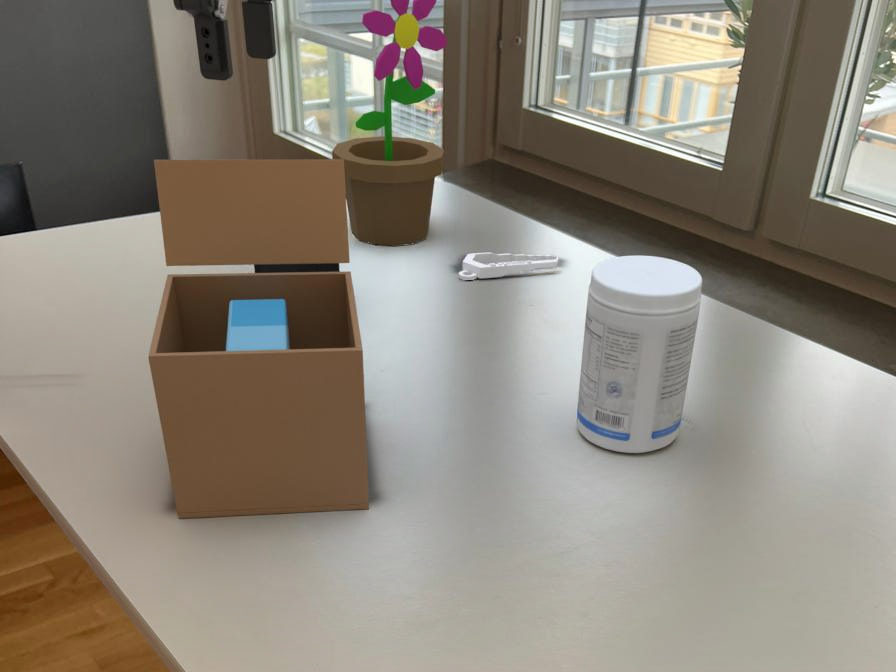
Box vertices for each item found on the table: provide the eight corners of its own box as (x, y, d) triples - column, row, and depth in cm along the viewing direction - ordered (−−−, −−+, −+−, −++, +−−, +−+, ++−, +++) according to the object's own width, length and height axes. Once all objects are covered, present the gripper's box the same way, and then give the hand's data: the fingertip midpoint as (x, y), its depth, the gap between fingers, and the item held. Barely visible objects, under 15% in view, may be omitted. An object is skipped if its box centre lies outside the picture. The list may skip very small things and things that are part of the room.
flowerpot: (379, 259, 125) (371, -26, 106) (315, 228, 133) (296, -42, 114) (465, 237, 132) (472, -32, 113) (400, 210, 140) (396, -46, 121)
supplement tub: (657, 405, 96) (683, 251, 87) (693, 453, 89) (725, 291, 80) (561, 411, 95) (577, 255, 85) (590, 461, 88) (610, 296, 78)
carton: (178, 518, 78) (147, 356, 69) (191, 423, 90) (167, 274, 81) (369, 509, 80) (362, 349, 72) (357, 416, 92) (350, 271, 84)
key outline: (546, 260, 127) (548, 246, 126) (561, 273, 123) (562, 259, 122) (449, 267, 123) (450, 253, 122) (461, 281, 120) (462, 267, 119)
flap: (153, 159, 78) (154, 160, 79) (166, 265, 81) (167, 266, 81) (343, 159, 80) (343, 160, 81) (349, 262, 83) (349, 263, 83)
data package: (300, 493, 81) (287, 353, 73) (243, 496, 80) (224, 355, 72) (296, 424, 90) (285, 292, 82) (245, 426, 89) (229, 293, 81)
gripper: (203, -213, 71) (231, 48, 81) (104, -221, 60) (151, 82, 70) (304, -209, 70) (319, 56, 80) (221, -215, 59) (251, 91, 69)
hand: (240, 68), depth 75 cm, fingers open, 8 cm apart
